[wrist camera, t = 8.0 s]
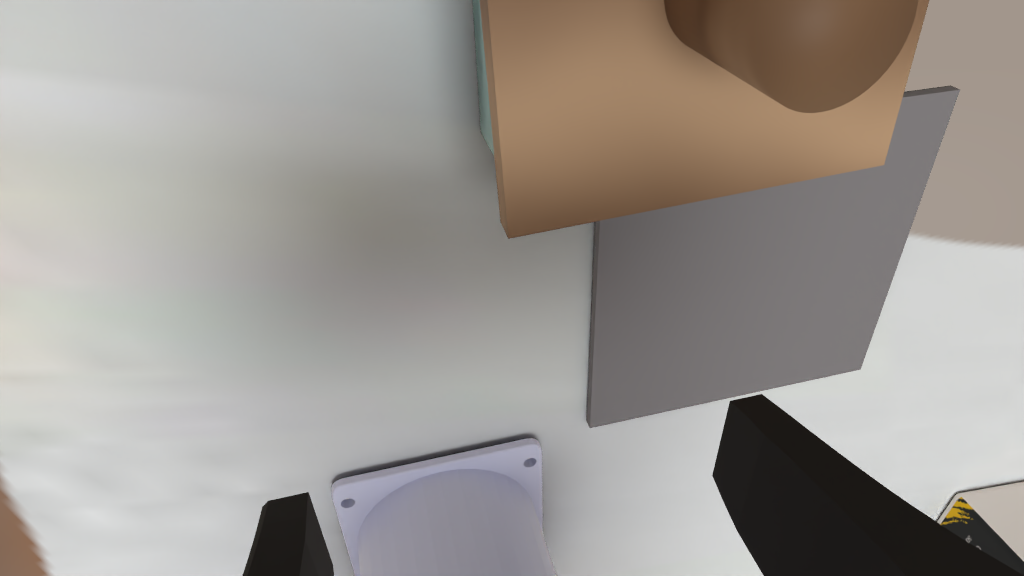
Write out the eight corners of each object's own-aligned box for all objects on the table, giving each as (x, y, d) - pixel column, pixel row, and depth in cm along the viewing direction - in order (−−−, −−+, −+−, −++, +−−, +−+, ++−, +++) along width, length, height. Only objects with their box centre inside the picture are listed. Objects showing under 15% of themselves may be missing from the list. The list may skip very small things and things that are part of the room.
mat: (854, 363, 29) (860, 369, 29) (586, 420, 27) (590, 427, 27) (950, 85, 22) (960, 89, 22) (599, 132, 20) (604, 138, 20)
